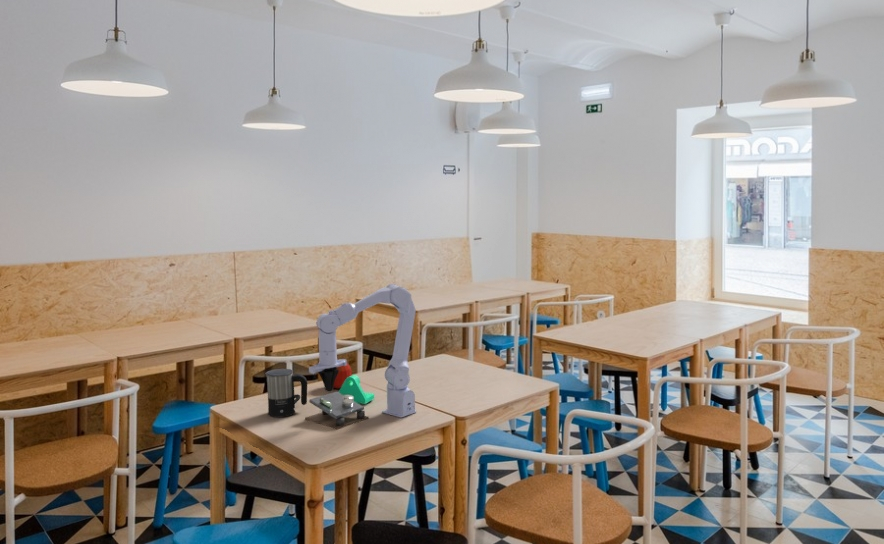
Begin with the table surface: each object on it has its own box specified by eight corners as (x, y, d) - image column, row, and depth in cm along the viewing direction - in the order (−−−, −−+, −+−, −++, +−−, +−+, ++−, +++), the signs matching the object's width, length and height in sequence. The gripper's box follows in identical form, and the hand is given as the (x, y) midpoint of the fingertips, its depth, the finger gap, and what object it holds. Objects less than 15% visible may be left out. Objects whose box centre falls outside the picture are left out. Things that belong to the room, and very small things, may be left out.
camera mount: (375, 400, 244) (374, 373, 243) (365, 406, 237) (364, 378, 236) (347, 397, 249) (346, 370, 248) (336, 403, 242) (335, 375, 241)
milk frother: (272, 419, 224) (270, 376, 222) (257, 407, 237) (255, 367, 235) (312, 412, 231) (310, 370, 230) (295, 401, 244) (294, 361, 243)
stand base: (369, 418, 223) (368, 410, 223) (337, 429, 213) (336, 421, 212) (337, 409, 234) (336, 401, 234) (305, 419, 223) (304, 411, 223)
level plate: (363, 409, 223) (365, 398, 222) (336, 418, 214) (337, 407, 213) (336, 394, 232) (338, 383, 231) (309, 402, 223) (310, 391, 222)
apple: (325, 385, 266) (324, 356, 264) (350, 383, 268) (350, 355, 267) (326, 392, 256) (326, 362, 255) (353, 390, 258) (352, 360, 257)
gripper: (336, 345, 227) (337, 383, 228) (302, 352, 216) (303, 393, 217) (350, 347, 222) (351, 387, 224) (316, 355, 211) (317, 397, 213)
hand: (329, 390), depth 220 cm, fingers closed
